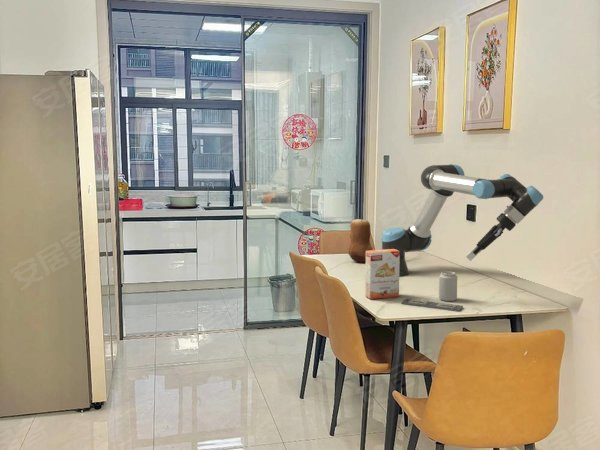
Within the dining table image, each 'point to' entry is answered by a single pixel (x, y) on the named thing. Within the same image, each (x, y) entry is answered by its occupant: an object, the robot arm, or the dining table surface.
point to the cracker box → (382, 273)
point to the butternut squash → (359, 240)
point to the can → (448, 286)
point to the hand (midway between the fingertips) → (468, 258)
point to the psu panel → (432, 305)
